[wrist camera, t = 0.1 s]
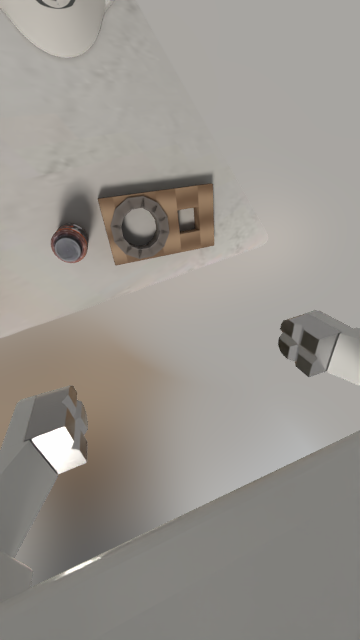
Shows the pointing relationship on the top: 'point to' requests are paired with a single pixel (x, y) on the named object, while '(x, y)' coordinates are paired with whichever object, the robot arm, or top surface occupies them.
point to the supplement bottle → (70, 243)
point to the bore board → (160, 221)
